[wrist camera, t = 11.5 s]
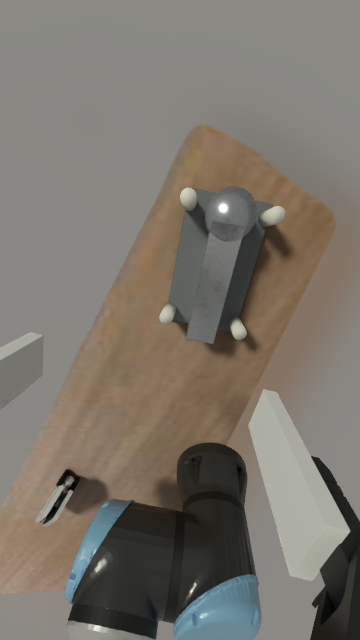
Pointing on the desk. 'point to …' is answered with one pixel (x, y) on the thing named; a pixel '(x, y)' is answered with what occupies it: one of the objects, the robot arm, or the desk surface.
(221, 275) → the grey ball-ended handle
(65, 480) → the white stapler
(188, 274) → the pad
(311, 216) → the desk surface
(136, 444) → the desk surface
